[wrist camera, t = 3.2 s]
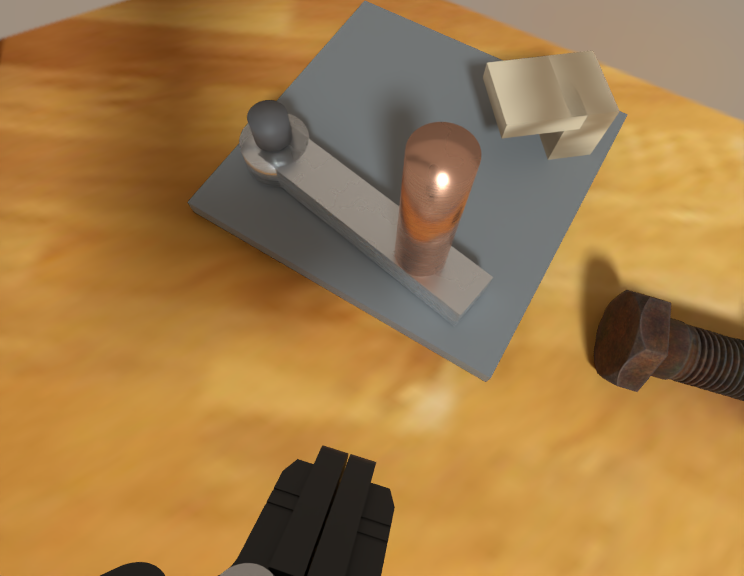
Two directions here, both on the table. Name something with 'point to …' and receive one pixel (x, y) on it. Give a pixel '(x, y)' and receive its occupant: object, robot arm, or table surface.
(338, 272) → the board
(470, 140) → the link
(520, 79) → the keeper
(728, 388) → the bolt
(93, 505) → the table surface
